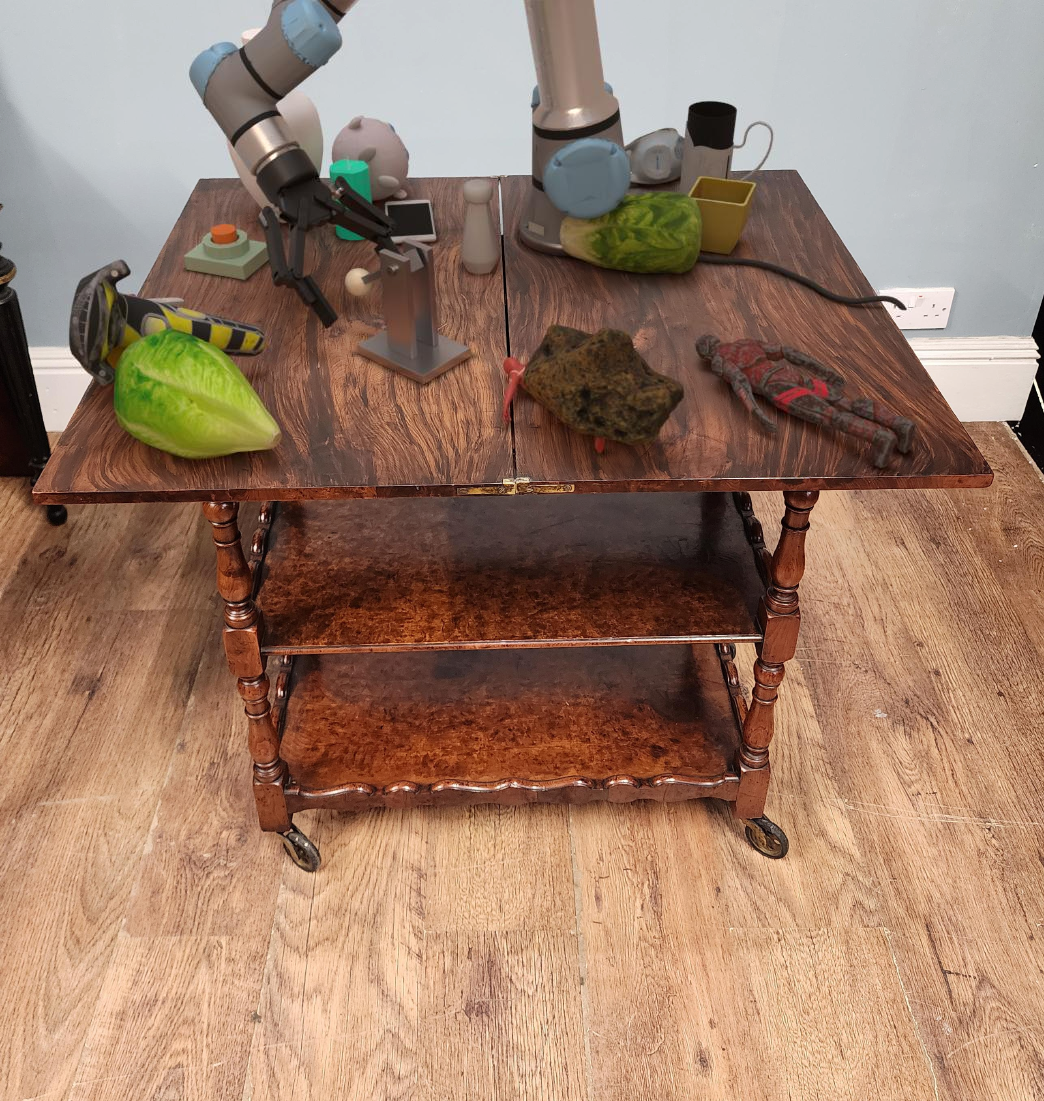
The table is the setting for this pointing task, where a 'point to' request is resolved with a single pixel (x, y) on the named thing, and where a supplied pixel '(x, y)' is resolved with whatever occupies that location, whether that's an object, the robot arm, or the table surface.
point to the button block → (227, 257)
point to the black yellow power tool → (141, 323)
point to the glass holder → (711, 143)
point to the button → (224, 234)
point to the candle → (352, 186)
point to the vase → (300, 121)
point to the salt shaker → (479, 229)
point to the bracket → (411, 320)
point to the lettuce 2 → (639, 234)
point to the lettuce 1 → (189, 398)
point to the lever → (375, 275)
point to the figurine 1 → (515, 377)
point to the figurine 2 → (803, 392)
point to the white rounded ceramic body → (656, 157)
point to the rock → (600, 385)
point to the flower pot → (722, 211)
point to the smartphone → (411, 220)
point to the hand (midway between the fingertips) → (370, 303)
